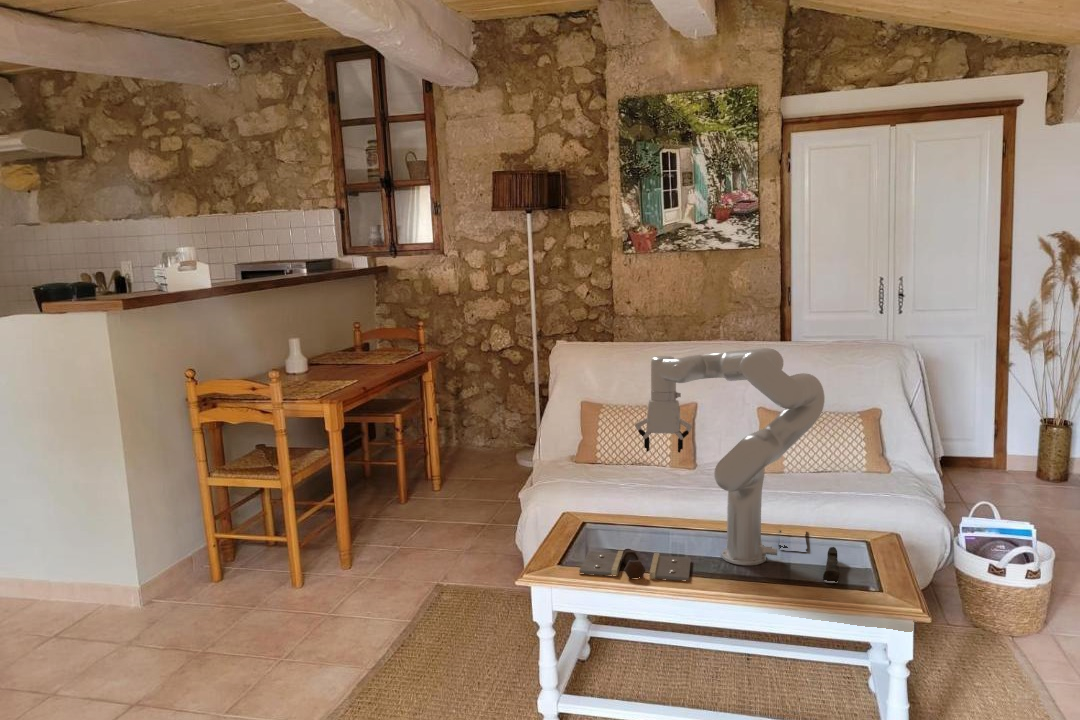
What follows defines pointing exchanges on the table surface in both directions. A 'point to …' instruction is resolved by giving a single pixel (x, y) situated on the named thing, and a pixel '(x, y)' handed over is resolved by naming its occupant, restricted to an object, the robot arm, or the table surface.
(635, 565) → the bolt
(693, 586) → the table surface
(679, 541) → the table surface
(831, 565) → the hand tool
